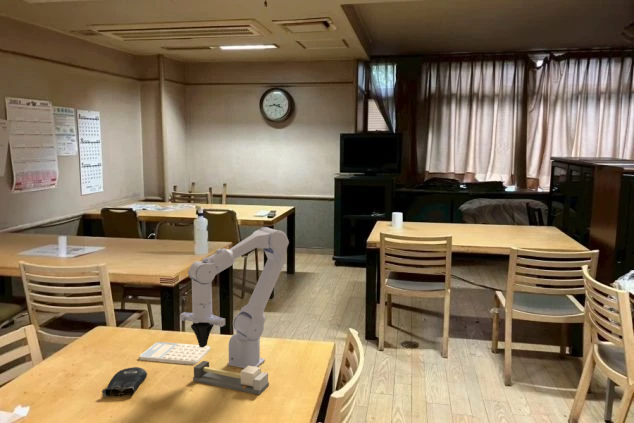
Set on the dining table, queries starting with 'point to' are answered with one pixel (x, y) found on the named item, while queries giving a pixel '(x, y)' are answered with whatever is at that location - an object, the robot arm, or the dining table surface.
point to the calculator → (175, 353)
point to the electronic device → (125, 381)
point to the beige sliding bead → (249, 375)
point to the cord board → (228, 379)
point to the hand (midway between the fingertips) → (203, 346)
